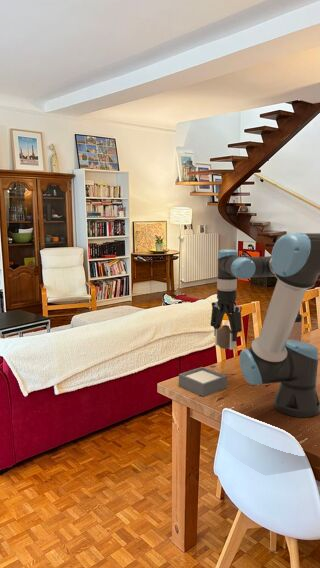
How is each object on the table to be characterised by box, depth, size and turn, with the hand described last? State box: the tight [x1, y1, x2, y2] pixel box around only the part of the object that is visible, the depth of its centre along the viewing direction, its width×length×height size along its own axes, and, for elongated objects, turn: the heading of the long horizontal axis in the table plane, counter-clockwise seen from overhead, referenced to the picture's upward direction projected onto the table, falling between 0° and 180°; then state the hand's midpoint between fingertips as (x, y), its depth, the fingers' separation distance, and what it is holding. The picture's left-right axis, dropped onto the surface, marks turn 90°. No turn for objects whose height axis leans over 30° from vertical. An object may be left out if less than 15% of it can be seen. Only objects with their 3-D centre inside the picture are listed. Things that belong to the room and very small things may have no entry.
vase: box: [217, 324, 232, 350], centre depth 172 cm, size 7×7×9 cm
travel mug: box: [288, 313, 303, 341], centre depth 201 cm, size 8×8×20 cm
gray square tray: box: [178, 366, 228, 397], centre depth 167 cm, size 13×13×5 cm
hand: (225, 346), depth 172 cm, fingers closed on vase, 7 cm apart
